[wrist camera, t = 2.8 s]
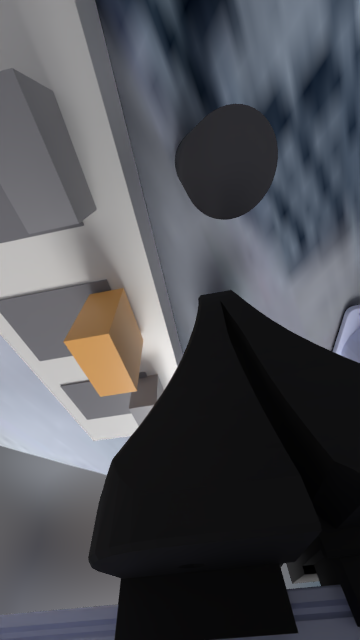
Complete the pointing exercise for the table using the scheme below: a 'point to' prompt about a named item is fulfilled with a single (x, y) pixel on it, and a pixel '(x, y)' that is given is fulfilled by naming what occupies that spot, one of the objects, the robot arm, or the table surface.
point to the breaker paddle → (107, 343)
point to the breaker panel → (73, 210)
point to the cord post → (228, 161)
